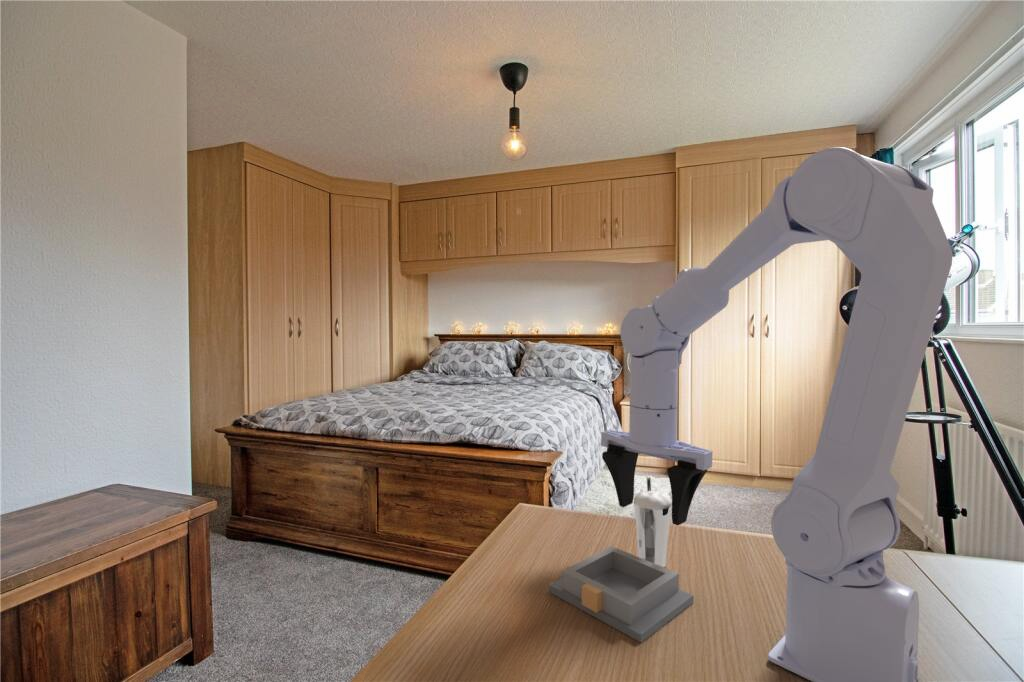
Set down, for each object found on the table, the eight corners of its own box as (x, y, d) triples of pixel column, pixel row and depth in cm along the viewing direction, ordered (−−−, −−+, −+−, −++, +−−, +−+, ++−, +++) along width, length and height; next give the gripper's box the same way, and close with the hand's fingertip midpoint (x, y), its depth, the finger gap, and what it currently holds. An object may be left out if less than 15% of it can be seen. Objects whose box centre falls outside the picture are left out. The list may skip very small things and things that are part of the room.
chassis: (693, 602, 54) (693, 577, 54) (639, 644, 47) (639, 615, 47) (603, 562, 63) (603, 540, 63) (547, 592, 56) (547, 568, 56)
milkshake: (665, 553, 65) (666, 478, 65) (674, 574, 60) (675, 492, 60) (630, 551, 66) (630, 476, 65) (636, 572, 60) (637, 490, 60)
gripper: (725, 409, 59) (723, 521, 60) (623, 395, 70) (622, 490, 71) (696, 417, 55) (693, 539, 55) (591, 401, 65) (590, 503, 66)
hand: (651, 513), depth 63 cm, fingers open, 7 cm apart
